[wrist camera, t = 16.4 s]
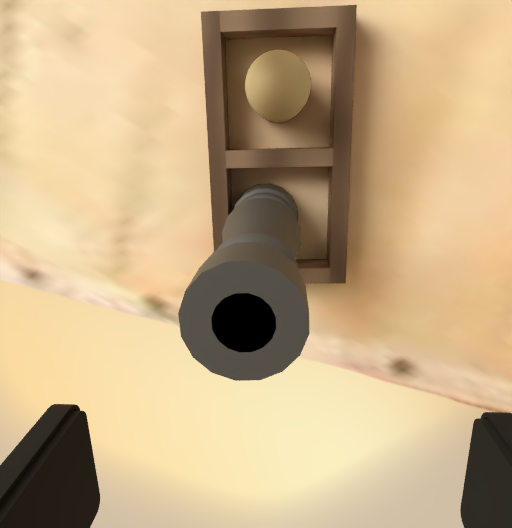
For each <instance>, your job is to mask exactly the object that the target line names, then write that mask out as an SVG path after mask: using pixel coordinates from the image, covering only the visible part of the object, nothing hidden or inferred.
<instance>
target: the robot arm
mask: <svg viewBox="0 0 512 528" xmlns="http://www.w3.org/2000/svg"><path fill="white" fill-rule="evenodd" d="M99 504H100V493H99V487H98V481H97V475H96V469H95V463H94V458H93V451H92V445H91V439H90V434H89V428H88V422H87V416H86V413H85V412H84V411H80V408H79V407H78V406H77V405H68V404H67V405H66V404H54V405H51V406H50V407H49V408H48V409H47V411H46V412H45V413H44V414H43V415H42V417H41V418H40V419H39V420H38V421H37V422H36V424H35V425H34V426H33V427H32V428H31V430H30V431H29V432H28V433H27V434H26V436H25V437H24V438H23V439H22V440H21V442H20V443H19V444H18V445H17V446H16V447H15V449H14V450H13V451H12V452H11V453H10V455H9V456H8V457H7V458H6V459H5V461H4V462H3V463H2V464H1V465H0V528H90V526H91V524H92V522H93V520H94V518H95V516H96V514H97V512H98V508H99ZM461 518H462V522H463V525H464V528H512V414H511V413H497V412H485V413H483V414H482V416H481V419H475V421H474V424H473V430H472V437H471V443H470V450H469V456H468V464H467V470H466V476H465V483H464V490H463V496H462V502H461Z"/></svg>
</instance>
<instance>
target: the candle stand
mask: <svg viewBox="0 0 512 528" xmlns="http://www.w3.org/2000/svg"><path fill="white" fill-rule="evenodd" d="M356 6H357V5H347V6H324V7H301V8H278V9H255V10H232V11H209V12H201V21H202V40H203V58H204V76H205V94H206V113H207V131H208V149H209V167H210V186H211V204H212V222H213V240H214V252H215V251H216V250H217V249H218V248H219V246H220V245H221V244H222V243H223V239H222V231H223V228H224V225H225V222H226V219H227V217H228V216H229V214H230V213H231V212H232V197H231V173H230V168H267V167H317V166H329V194H328V233H327V259H295V260H296V262H297V264H298V270H299V272H300V274H301V277H302V279H303V281H304V283H345V282H346V257H347V232H348V207H349V182H350V157H351V132H352V107H353V81H354V56H355V31H356ZM323 35H333V39H332V77H331V116H330V147H319V148H275V149H230V148H229V124H228V99H227V75H226V50H225V39H247V38H272V37H298V36H323ZM310 90H311V79H310V74H309V71H308V69H307V67H306V65H305V63H304V62H303V61H302V60H301V59H300V58H299V57H298V56H297V55H295V54H294V53H292V52H289V51H286V50H272V51H268V52H266V53H264V54H262V55H260V56H259V57H258V58H257V59H256V60H255V61H254V62H253V63H252V65H251V66H250V68H249V70H248V72H247V76H246V80H245V92H246V96H247V99H248V101H249V103H250V105H251V107H252V108H253V109H254V110H255V111H256V112H257V113H258V114H259V115H260V116H262V117H263V118H265V119H266V120H268V121H271V122H276V123H280V122H286V121H288V120H290V119H292V118H294V117H295V116H296V115H297V114H298V113H299V112H300V111H301V109H302V108H303V107H304V105H305V104H306V102H307V100H308V98H309V95H310Z"/></svg>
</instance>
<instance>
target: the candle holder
mask: <svg viewBox="0 0 512 528" xmlns="http://www.w3.org/2000/svg"><path fill="white" fill-rule="evenodd" d="M222 239H223V243H222V244H221V245H220V246H219V248H218V249H217V250H216V251H215V252H214V253H213V254H212V255H211V256H210V257H209V258H208V259H207V260H206V261H205V263H204V264H203V265H202V266H201V267H200V268H199V270H198V271H197V273H196V275H195V276H194V278H193V279H192V281H191V283H190V284H189V286H188V288H187V289H186V291H185V294H184V297H183V301H182V304H181V307H180V310H179V313H178V314H179V322H180V331H181V337H182V339H183V341H184V342H185V344H186V346H187V348H188V349H189V351H190V353H191V354H192V356H193V358H195V359H196V360H197V361H198V362H200V363H201V364H202V365H203V366H205V367H206V368H207V369H208V370H210V371H211V372H212V373H215V374H218V375H221V376H224V377H227V378H230V379H233V380H261V379H264V378H267V377H269V376H272V375H274V374H277V373H280V372H282V371H283V370H285V369H286V368H287V367H288V366H289V365H290V364H291V363H292V362H293V361H294V360H295V359H296V358H297V357H298V356H300V354H301V352H302V349H303V347H304V345H305V342H306V340H307V338H308V335H309V308H308V301H307V294H306V287H305V283H304V281H303V279H302V277H301V274H300V272H299V270H298V264H297V262H296V260H295V257H296V255H297V252H298V250H299V247H300V244H301V241H300V226H299V224H298V211H297V207H296V205H295V202H294V200H293V198H292V196H291V195H290V194H289V193H288V192H287V191H286V190H284V189H283V188H282V187H279V186H276V185H274V184H271V183H270V184H257V185H255V186H253V187H251V188H249V189H247V190H246V191H245V192H244V193H243V195H242V196H241V197H240V198H239V199H238V201H237V202H236V204H235V207H234V210H233V211H232V212H231V213H230V214H229V216H228V217H227V219H226V222H225V225H224V228H223V231H222Z"/></svg>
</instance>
